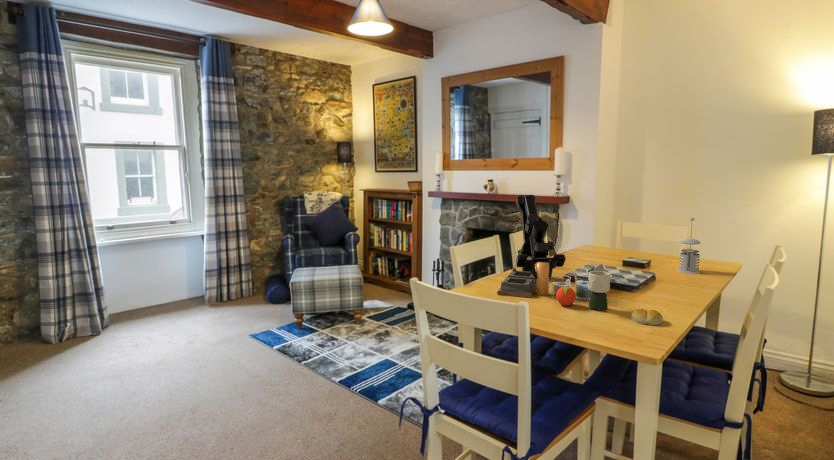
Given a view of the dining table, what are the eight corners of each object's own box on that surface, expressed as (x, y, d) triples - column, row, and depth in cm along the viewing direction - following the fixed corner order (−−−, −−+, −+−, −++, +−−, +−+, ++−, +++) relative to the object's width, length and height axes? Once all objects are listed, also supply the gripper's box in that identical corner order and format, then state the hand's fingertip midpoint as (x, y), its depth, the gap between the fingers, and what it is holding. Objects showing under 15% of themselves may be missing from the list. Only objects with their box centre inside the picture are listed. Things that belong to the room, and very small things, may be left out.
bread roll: (633, 315, 157) (633, 304, 156) (663, 320, 152) (663, 308, 151) (629, 323, 150) (629, 311, 149) (660, 327, 145) (661, 315, 144)
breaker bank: (510, 279, 207) (510, 267, 206) (540, 282, 202) (540, 269, 201) (497, 294, 184) (497, 281, 183) (530, 297, 179) (530, 283, 178)
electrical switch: (601, 290, 187) (599, 268, 186) (588, 290, 190) (586, 267, 189) (608, 285, 194) (607, 264, 193) (595, 285, 197) (594, 263, 196)
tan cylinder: (537, 291, 187) (537, 261, 185) (549, 292, 185) (549, 262, 183) (535, 295, 182) (535, 264, 180) (547, 296, 180) (548, 264, 179)
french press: (701, 270, 217) (705, 217, 214) (700, 275, 208) (704, 219, 204) (677, 267, 223) (680, 216, 219) (675, 272, 213) (678, 218, 210)
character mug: (595, 303, 170) (596, 268, 168) (614, 307, 165) (616, 271, 163) (581, 310, 163) (582, 274, 161) (601, 314, 158) (602, 277, 156)
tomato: (575, 309, 163) (576, 290, 162) (554, 308, 166) (555, 288, 165) (576, 303, 171) (576, 284, 170) (556, 301, 173) (556, 283, 172)
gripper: (517, 234, 185) (521, 267, 175) (565, 234, 184) (572, 267, 174) (514, 250, 194) (518, 282, 184) (559, 249, 193) (565, 282, 183)
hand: (543, 278), depth 181 cm, fingers open, 5 cm apart
